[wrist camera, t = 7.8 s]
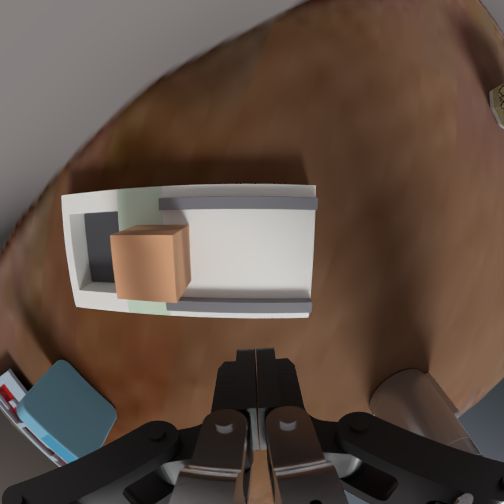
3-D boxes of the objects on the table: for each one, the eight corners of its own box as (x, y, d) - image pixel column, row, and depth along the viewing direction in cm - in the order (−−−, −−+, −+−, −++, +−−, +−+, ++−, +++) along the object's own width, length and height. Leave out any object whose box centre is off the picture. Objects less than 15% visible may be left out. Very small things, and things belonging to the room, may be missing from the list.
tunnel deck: (308, 185, 25) (318, 185, 21) (303, 304, 28) (310, 322, 24) (77, 193, 26) (55, 196, 22) (89, 296, 28) (71, 310, 24)
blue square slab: (52, 365, 32) (11, 410, 20) (62, 355, 31) (18, 402, 19) (106, 418, 34) (78, 470, 22) (120, 411, 33) (91, 468, 21)
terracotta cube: (189, 224, 23) (172, 235, 18) (191, 280, 24) (176, 302, 20) (136, 225, 23) (109, 235, 18) (140, 278, 25) (117, 298, 20)
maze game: (137, 481, 40) (134, 491, 36) (91, 480, 42) (87, 488, 39) (17, 362, 33) (7, 370, 30) (-7, 380, 35) (-14, 387, 32)
